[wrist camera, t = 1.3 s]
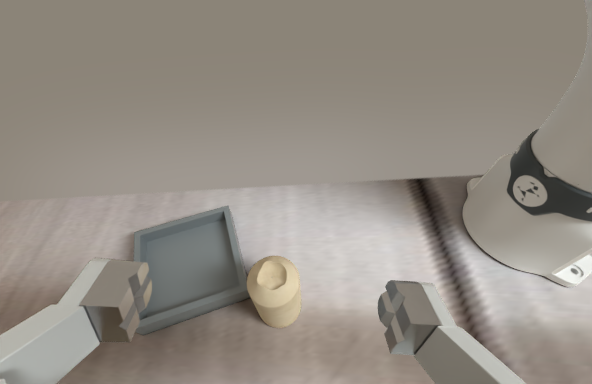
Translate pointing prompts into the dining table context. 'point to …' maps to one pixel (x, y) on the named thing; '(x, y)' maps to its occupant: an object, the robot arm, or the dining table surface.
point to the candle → (275, 290)
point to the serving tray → (190, 268)
